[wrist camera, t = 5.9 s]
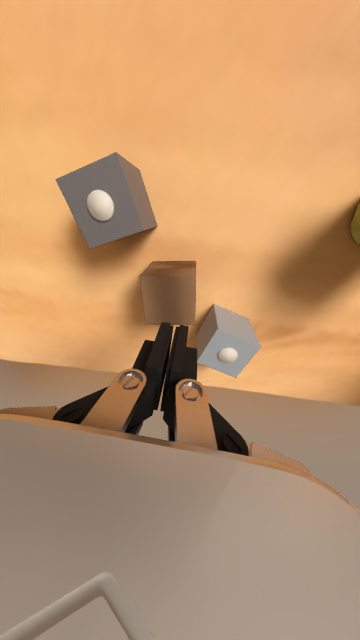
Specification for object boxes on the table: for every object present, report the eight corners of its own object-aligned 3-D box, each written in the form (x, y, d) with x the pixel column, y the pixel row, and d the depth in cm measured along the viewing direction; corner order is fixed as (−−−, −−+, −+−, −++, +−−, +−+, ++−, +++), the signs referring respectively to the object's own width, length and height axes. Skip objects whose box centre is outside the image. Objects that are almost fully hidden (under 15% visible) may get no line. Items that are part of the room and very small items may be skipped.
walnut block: (195, 260, 22) (195, 275, 16) (195, 301, 24) (195, 325, 19) (152, 261, 22) (139, 275, 17) (156, 301, 25) (145, 324, 19)
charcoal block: (139, 170, 18) (114, 151, 13) (157, 226, 20) (142, 230, 15) (94, 188, 19) (53, 179, 14) (116, 240, 21) (88, 249, 16)
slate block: (248, 318, 25) (262, 347, 19) (228, 346, 27) (236, 379, 22) (213, 303, 24) (218, 329, 19) (196, 333, 26) (196, 363, 21)
